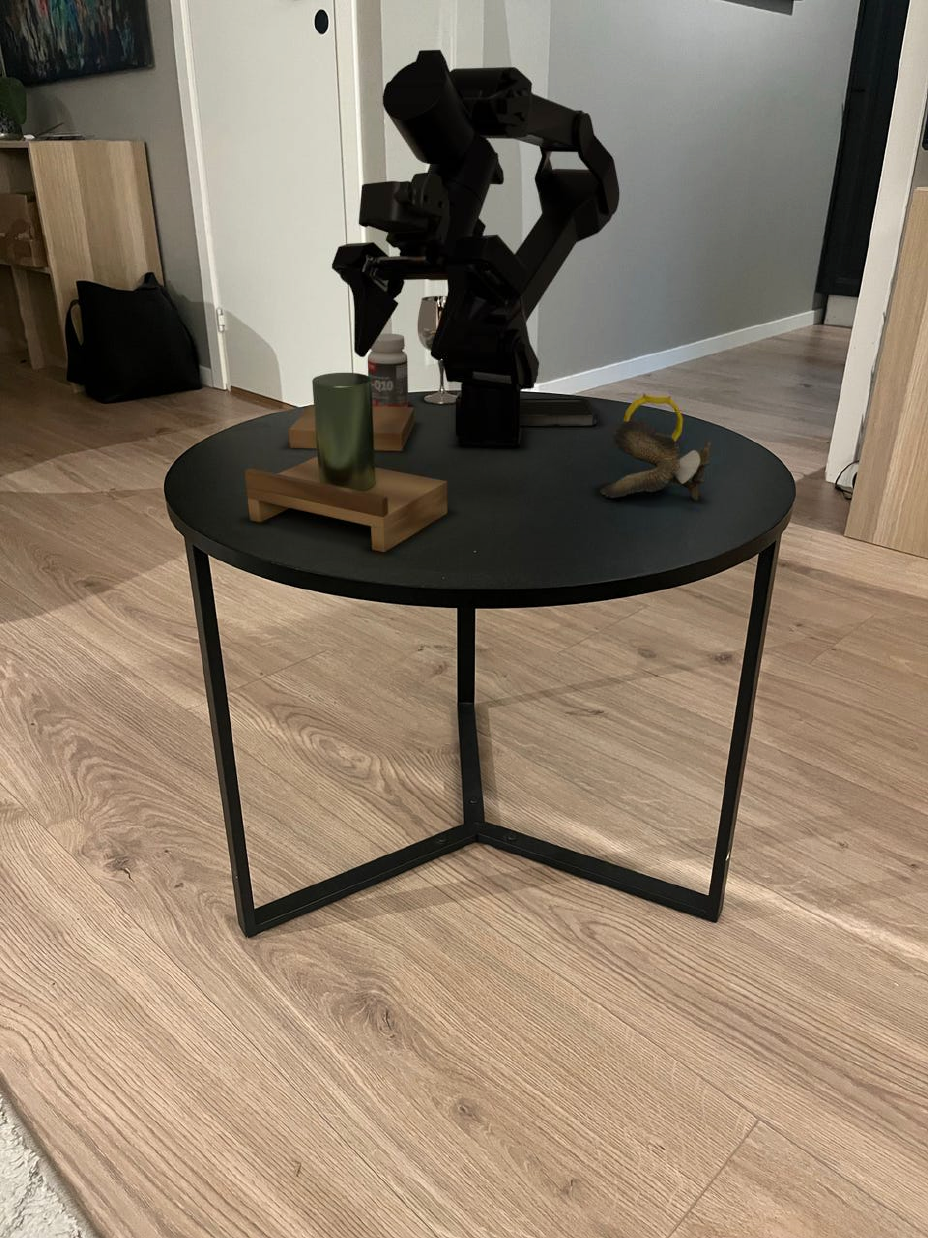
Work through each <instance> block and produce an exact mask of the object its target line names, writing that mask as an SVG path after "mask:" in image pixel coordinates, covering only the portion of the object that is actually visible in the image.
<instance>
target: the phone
mask: <svg viewBox="0 0 928 1238" xmlns="http://www.w3.org/2000/svg"><path fill="white" fill-rule="evenodd" d="M597 419H598V412H597V410H596V409H595V407H594V405H593V404H592V402H591V400H590V399H587V398H582V397H580V398H578V397H577V398H575V397H574V398H573V397H572V398H569V397H568V398H567V397H566V398H559V397H558V398H521V409H520V427H524V426H525V427H531V426H533V427H535V426H536V427H538V426H539V427H541V426H542V427H543V426H544V427H546V426H548V427H550V426H551V427H553V426H556V427H557V426H560V427H561V426H594V425H596V424H597Z"/></svg>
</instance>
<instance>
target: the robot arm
mask: <svg viewBox="0 0 928 1238" xmlns="http://www.w3.org/2000/svg"><path fill="white" fill-rule="evenodd" d="M532 89H533V83H532V81H531V80H530V79H529V78H528V77H527V76H526V75H525V74H524V73H522V71H521V70H520V69H518V68H517V67H515V66H501V67H463V68H461V67H459V68H453V69H451V70H450V69H449V65H448V63H447V60H446V58H445V56H444V54H443V51H441V49H423V50H422V49H420V50H419V51H418V53H417V56H416V59H415V61H413V62H410V63H408V64H406V65H405V66H404V67H402V68H401V69H400V70H399V71H397V72H396V74H395V75H394V76H393V77H392V78H391V80H389V81H388V82H387V83H386V84H385V86H384V89H383V93H382V106H383V108H384V110H385V112H386V114H387V115H388V117H389V119H390V120H391V122H392V124H393V125H394V127H395V128H396V130H397V131H398V132H399V134H400V135H401V137H402V139H403V140H404V142H405V144H406V145H407V147H408V148H409V149H410V151H411V153H412V154H413V156H414V157H415V158H416V159H417V160H418V161H419V162H421V163H423V164H427V165H429V166H428V168H427V172H420V173H419V172H418V173H415V174H414V175H413V176H412V178H411V180H410V181H409V180H404V181H398V180H386V181H377V182H369V183H362V185H361V190H360V202H359V203H360V204H359V211H358V212H359V213H358V214H359V216H358V225H359V226H361V227H362V228H368V227H370V228H373V229H376V230H379V231H381V232H383V233H387V234H386V236H385V242H387V244H389V245H390V247H392V248H393V249H398V250H399V254H398V255H393V256H390V255H388V254H387V253H386V252H385V251H384V250H383V249H382V248H380V247H379V245H378V244H376V242H374V241H369V242H367V241H366V242H351V243H346V244H343V245H340V246H338V247H337V250H336V252H335V255H334V258H333V260H332V263H331V269H332V270H333V271H335V272H336V273H337V274H338V275H339V277H340V279H341V280H342V281H343V282H344V283H345V284H347V285H348V286H349V289H350V291H351V293H352V300H353V316H354V317H353V352H354V353H355V354H356V355H357V356H358V357H360V358H365V357H366V356H367V355H368V354H369V351H370V350H371V347H372V346H373V344H374V343H375V341H376V340H377V338H378V336H379V335H380V334H382V332H383V330H384V328H385V327H386V326H387V323H388V322H389V320H390V319H391V317H392V315H393V314H394V312H395V311H396V309H397V308H398V306H399V302H398V301H397V300H396V298H397V297H398V296H399V295H400V294H401V293H402V292H403V288H404V285H405V284H406V283H405V281H415V280H416V281H419V280H420V281H421V280H422V281H424V280H425V281H426V280H428V281H431V282H433V281H446V282H447V283H446V284H447V295H446V296H447V298H446V301H445V304H444V307H443V310H442V313H441V316H440V320H439V323H438V326H437V329H436V332H435V335H434V339H433V344H432V348H431V351H430V356H431V357H432V358H433V359H434V360H436V361H438V360H441V359H442V360H443V365H444V374H445V375H444V376H445V379H446V382H448V383H459V384H460V391H459V392H458V393H457V394H456V396H457V397H456V402H455V436H457V437H459V439H458V446H460V447H480V448H481V447H485V448H486V447H487V448H520V447H521V439H522V438H521V437H522V426H520V409H521V399H522V390H531V389H533V388H535V384H536V383H537V381H538V376H539V370H540V360H539V359H538V357H537V355H536V353H535V351H534V348H533V346H532V345H531V341H530V336H529V331H528V325H527V322H528V320H529V318H530V317H531V315H532V313H533V312H534V310H535V309H536V308H537V305H539V302H540V301H541V299H542V298H543V296H544V295H545V293H546V291H547V290H548V289H549V287H550V285H551V283H552V282H553V281H554V279H555V277H556V276H557V274H558V272H559V271H560V270H561V268H562V266H563V265H564V263H565V262H566V260H567V258H568V257H569V255H570V254H571V252H572V250H573V249H574V248H575V246H576V244H577V243H579V242H581V241H583V240H586V239H588V238H591V237H593V236H596V235H598V234H599V233H601V231H602V230H603V229H604V227H605V226H606V225H608V223H609V222H610V221H611V220H612V218H613V216H614V215H615V213H617V210H618V207H619V203H620V193H621V191H620V185H619V179H618V175H617V170H616V164H615V160H614V157H613V156H612V154H611V153H610V152H609V151H608V150H607V148H606V147H605V145H603V143H602V141H600V140H599V138H598V137H597V136H596V134H595V131H594V125H593V122H592V117H591V116H590V114H589V113H588V112H584V111H583V110H581V109H578V110H577V109H573V108H570V107H567V106H565V105H562V104H560V103H558V102H555V101H552V100H549V99H547V98H545V97H542V96H540V95H537V94H535V93H533V92H532ZM489 139H490V140H491V139H493V140H495V139H497V140H499V139H501V140H502V139H503V140H516V141H519V142H522V143H526V144H529V145H533V146H536V147H539V151H540V155H541V158H540V161H539V164H538V167H537V169H536V172H535V174H534V184H535V187H536V190H537V193H538V199H539V205H540V210H541V214H540V216H539V217H538V219H537V220H536V222H535V223H534V225H533V226H532V228H531V229H530V230H529V232H528V234H527V235H526V236H525V238H524V240H523V241H522V242H521V244H520V245H519V247H518V248H517V250H516V251H515V252H513V250H512V249H511V248H510V247H509V246H508V245H507V243H505V241H504V240H503V239H502V238H501V236H500V235H498V234H486V235H485V234H484V233H485V230H486V227H487V225H486V224H485V223H484V222H483V221H482V219H481V218H480V216H481V212H482V210H483V207H484V205H485V204H484V203H485V201H486V198H487V196H488V193H489V190H490V187H491V185H500V186H502V185H503V184H504V182H505V177H504V169H503V168H502V166H501V164H500V161H499V153H498V152H496V151H495V149H494V147H493V145H492V144H491V142H490V141H489ZM552 153H577V156H578V159H579V160H580V161H581V162H582V163H583V165H584V166H585V167H586V169H581V168H578V169H577V168H553V166H552V162H551V155H552Z"/></svg>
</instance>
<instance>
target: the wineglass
mask: <svg viewBox="0 0 928 1238" xmlns="http://www.w3.org/2000/svg"><path fill="white" fill-rule="evenodd" d="M446 298H447V295H430V296H424V297H422V298H421V300H420V305H419V309H418V315H417V336H418V340H419V342H420V344H421V345H422V346H423V347H424V348H425V349H426V350H428V351H430V352H431V348H432V344H433V339H434V335H435V332H436V329H437V326H438V323H439V320H440V316H441V313H442V310H443V307H444V304H445V301H446ZM437 366H438V372H439V389H438V391H437V392H435V393H432V394H428V395H425V397H424V398H423V400H424V401H425V402H427V403H431V404H441V405H442V404H443V405H445V404H446V405H447V404H453V403H456V397H457V394H451V393H448V392H447V391H446V389H445V384H444V383H445V382H444V381H445V380H444V379H445V378H444V377H445V375H444V374H445V370H444V365H443V360H442V359H441V360H437Z"/></svg>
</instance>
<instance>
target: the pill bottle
mask: <svg viewBox="0 0 928 1238" xmlns="http://www.w3.org/2000/svg"><path fill="white" fill-rule="evenodd" d="M405 343H406V342H405V336H404V335H402V334H399V333H380V335H379V336H378V338H377V340H376V341H375V343H374V344H373V346H372V347H371V349H370V350H371V351H370V352H368V354H367V355H368V356H367V376H369V377H370V378H371V381H372V405H373V406H377V407H409V378H408V376H409V372H408V371H409V370H408V369H409V368H408V354H407V353H406V352H405V351H404V350H405V347H406V344H405Z"/></svg>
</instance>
